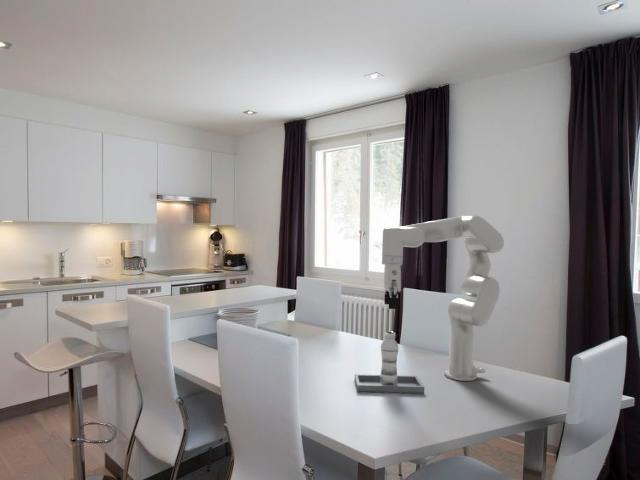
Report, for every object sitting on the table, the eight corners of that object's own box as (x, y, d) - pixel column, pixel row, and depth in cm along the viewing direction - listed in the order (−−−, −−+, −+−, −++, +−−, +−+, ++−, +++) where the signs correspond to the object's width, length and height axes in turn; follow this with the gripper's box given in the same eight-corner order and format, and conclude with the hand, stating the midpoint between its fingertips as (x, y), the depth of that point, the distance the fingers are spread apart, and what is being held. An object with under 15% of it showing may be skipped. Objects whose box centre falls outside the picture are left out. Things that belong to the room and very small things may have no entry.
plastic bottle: (397, 390, 159) (399, 335, 159) (378, 388, 160) (380, 334, 160) (398, 384, 165) (399, 331, 165) (379, 382, 167) (381, 330, 166)
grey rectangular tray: (416, 382, 170) (416, 375, 170) (424, 394, 158) (424, 386, 158) (354, 381, 170) (354, 374, 169) (357, 392, 158) (357, 385, 157)
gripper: (407, 262, 154) (405, 311, 154) (397, 259, 171) (396, 303, 172) (385, 261, 154) (384, 310, 154) (378, 258, 171) (377, 302, 172)
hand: (390, 306), depth 163 cm, fingers open, 9 cm apart
